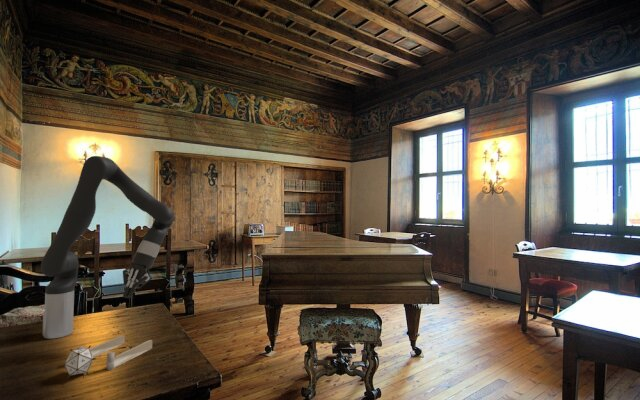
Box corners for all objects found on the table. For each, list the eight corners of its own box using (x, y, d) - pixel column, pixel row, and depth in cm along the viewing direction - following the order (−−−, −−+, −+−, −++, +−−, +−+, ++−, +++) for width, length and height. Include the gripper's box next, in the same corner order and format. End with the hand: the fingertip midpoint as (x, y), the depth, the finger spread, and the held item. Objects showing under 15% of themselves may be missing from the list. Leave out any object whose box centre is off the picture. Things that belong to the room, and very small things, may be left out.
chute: (74, 363, 108) (75, 348, 108) (121, 342, 125) (121, 329, 125) (109, 370, 104) (110, 354, 104) (153, 348, 120) (153, 334, 121)
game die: (80, 388, 100) (78, 371, 95) (55, 378, 100) (52, 360, 95) (103, 362, 108) (102, 345, 103) (79, 352, 108) (77, 334, 103)
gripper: (127, 248, 129) (105, 292, 123) (152, 254, 124) (131, 300, 118) (141, 253, 135) (121, 295, 129) (165, 259, 131) (146, 303, 125)
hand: (126, 297), depth 124 cm, fingers closed
